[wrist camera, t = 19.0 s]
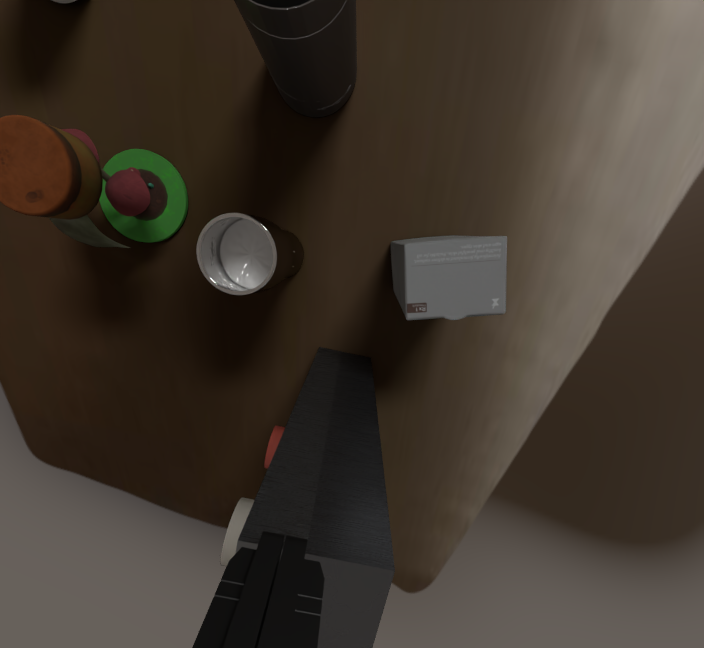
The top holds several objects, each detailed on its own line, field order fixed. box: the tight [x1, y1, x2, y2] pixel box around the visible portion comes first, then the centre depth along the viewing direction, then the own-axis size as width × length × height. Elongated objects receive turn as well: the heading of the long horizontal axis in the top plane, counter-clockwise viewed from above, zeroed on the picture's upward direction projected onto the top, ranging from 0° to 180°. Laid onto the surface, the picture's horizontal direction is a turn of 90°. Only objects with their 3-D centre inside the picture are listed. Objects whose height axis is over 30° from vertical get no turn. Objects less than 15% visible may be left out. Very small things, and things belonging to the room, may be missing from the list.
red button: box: [264, 426, 285, 469], centre depth 36 cm, size 5×4×4 cm
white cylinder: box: [220, 497, 255, 566], centre depth 25 cm, size 5×4×4 cm
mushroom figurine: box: [0, 115, 188, 248], centre depth 33 cm, size 12×13×15 cm
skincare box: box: [391, 236, 507, 320], centre depth 33 cm, size 8×7×16 cm
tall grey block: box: [235, 347, 395, 648], centre depth 31 cm, size 7×18×30 cm, turn 168°
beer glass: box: [197, 213, 304, 295], centre depth 34 cm, size 7×7×15 cm
